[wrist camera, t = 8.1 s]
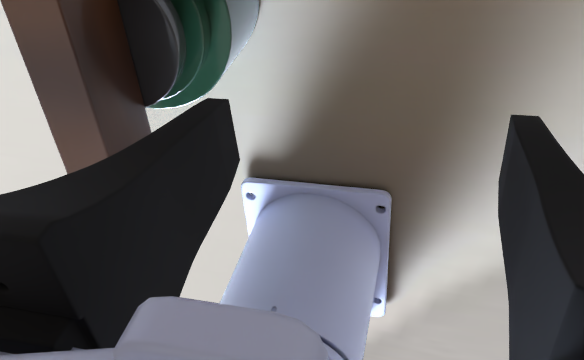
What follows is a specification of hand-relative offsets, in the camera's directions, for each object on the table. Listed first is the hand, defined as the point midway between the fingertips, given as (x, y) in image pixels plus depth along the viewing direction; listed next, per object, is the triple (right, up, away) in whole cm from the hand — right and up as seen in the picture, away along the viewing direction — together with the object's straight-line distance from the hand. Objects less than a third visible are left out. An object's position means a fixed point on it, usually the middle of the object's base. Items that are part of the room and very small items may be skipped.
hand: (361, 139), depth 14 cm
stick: (-8, +4, +5) cm, 11 cm away
